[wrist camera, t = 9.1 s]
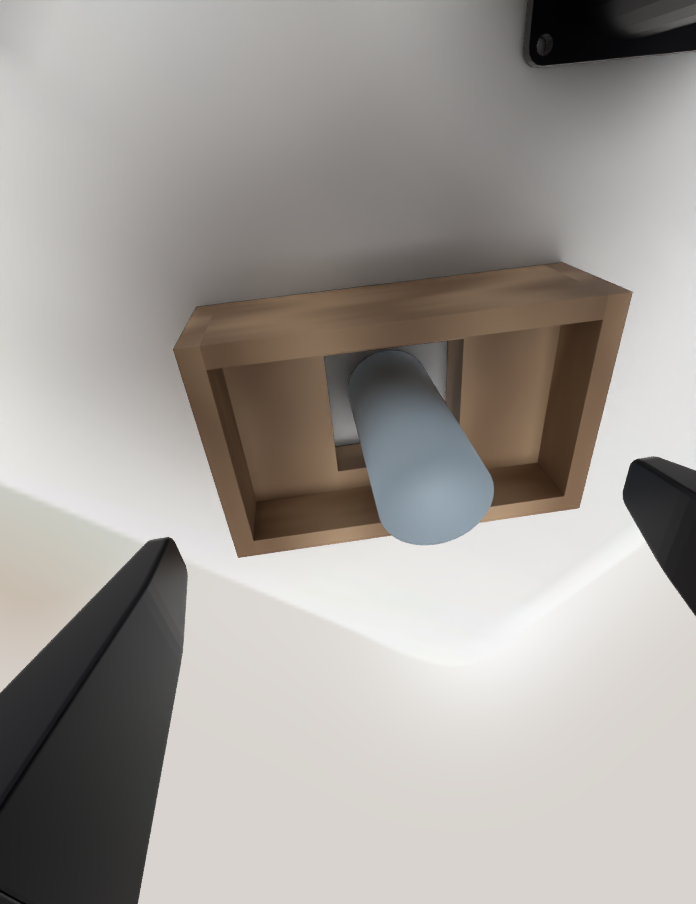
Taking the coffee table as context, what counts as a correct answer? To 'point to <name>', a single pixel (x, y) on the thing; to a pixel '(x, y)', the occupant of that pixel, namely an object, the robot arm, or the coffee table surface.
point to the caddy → (468, 393)
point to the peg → (416, 452)
